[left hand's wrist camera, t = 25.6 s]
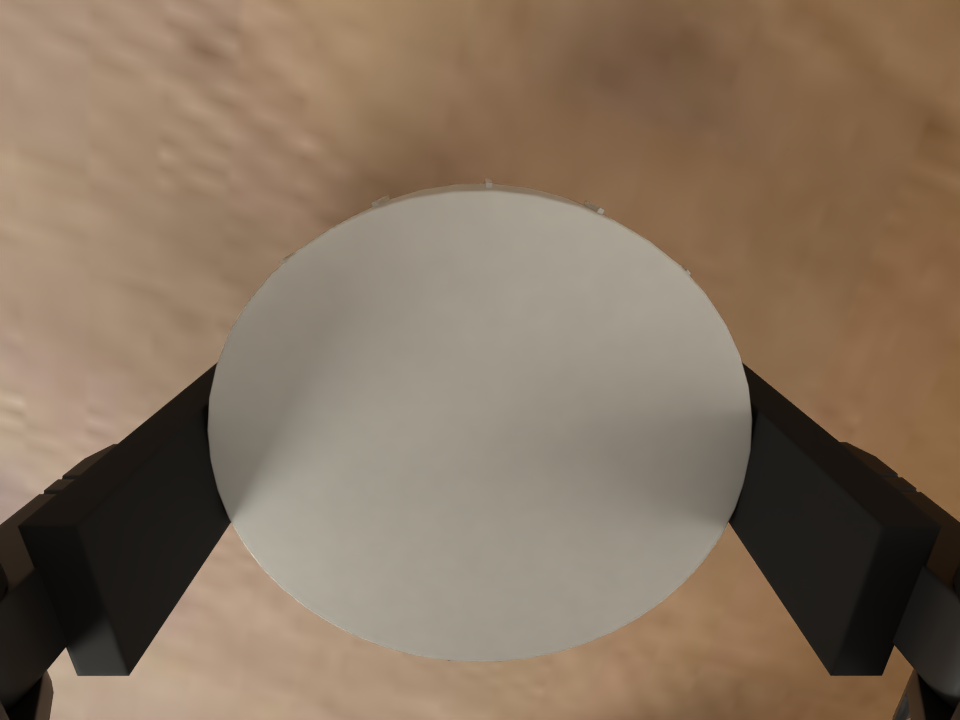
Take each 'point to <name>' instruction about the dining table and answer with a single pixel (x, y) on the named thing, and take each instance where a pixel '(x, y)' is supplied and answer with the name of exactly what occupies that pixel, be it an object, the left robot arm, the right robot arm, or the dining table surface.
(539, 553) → the lid
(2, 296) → the dining table surface
